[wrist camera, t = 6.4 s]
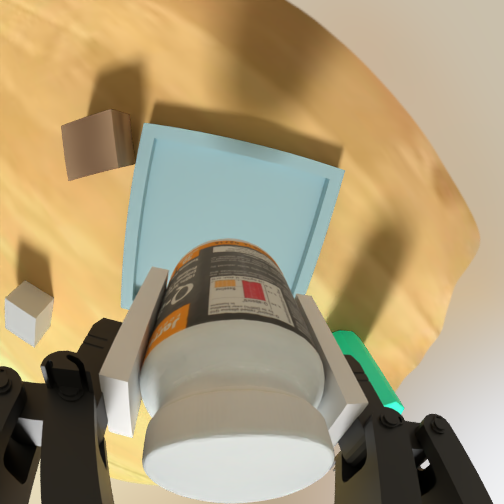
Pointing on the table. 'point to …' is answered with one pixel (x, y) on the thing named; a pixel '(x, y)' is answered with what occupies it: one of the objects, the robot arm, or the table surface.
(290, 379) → the pill bottle
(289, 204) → the tray
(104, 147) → the walnut block
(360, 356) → the candle
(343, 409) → the robot arm
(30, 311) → the grey block
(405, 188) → the table surface
